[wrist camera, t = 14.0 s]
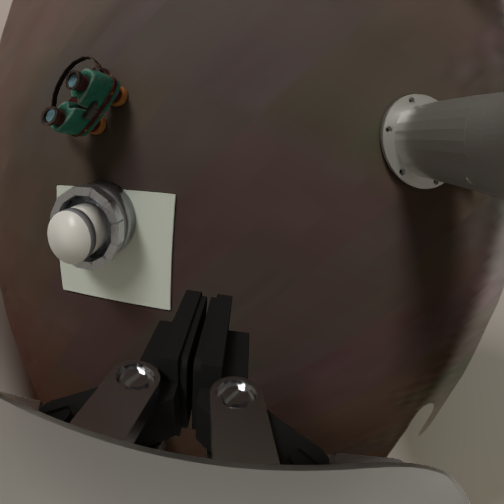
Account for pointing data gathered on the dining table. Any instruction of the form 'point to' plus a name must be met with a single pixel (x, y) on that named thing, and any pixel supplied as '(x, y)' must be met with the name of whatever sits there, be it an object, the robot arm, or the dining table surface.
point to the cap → (78, 232)
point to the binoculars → (84, 100)
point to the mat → (134, 257)
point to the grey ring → (116, 211)
